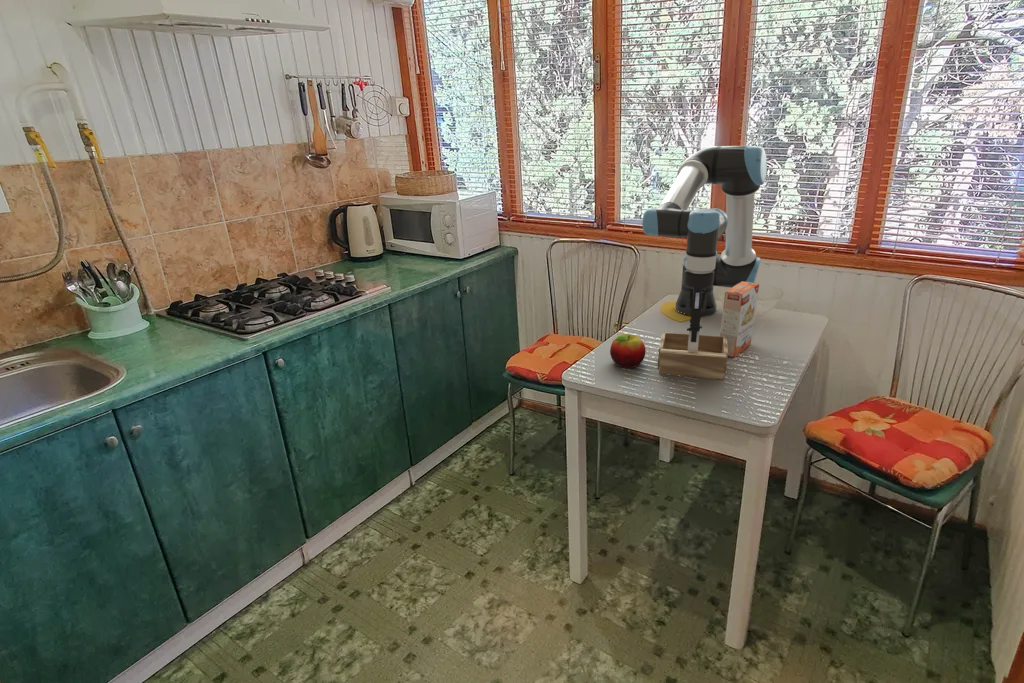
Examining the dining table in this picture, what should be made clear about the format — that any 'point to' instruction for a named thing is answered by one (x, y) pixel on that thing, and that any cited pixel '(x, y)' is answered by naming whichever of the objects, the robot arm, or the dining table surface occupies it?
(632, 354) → the fruit
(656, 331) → the dining table surface
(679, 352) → the flap
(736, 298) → the cracker box
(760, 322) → the dining table surface
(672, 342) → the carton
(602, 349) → the dining table surface
